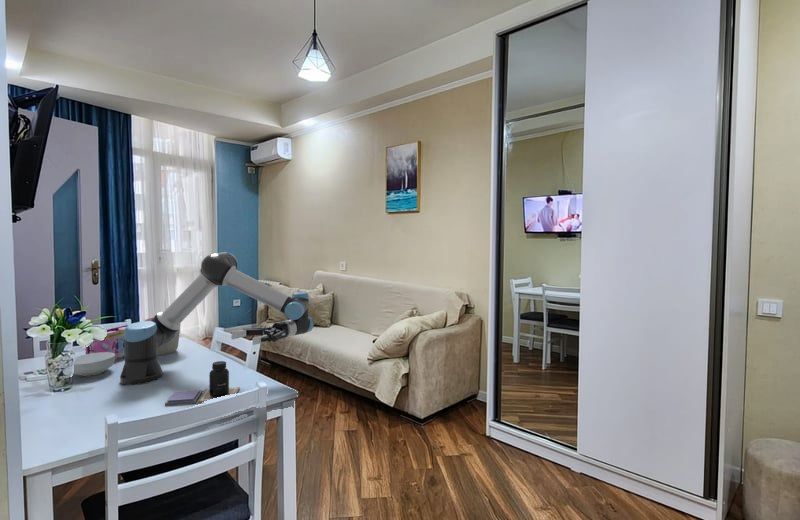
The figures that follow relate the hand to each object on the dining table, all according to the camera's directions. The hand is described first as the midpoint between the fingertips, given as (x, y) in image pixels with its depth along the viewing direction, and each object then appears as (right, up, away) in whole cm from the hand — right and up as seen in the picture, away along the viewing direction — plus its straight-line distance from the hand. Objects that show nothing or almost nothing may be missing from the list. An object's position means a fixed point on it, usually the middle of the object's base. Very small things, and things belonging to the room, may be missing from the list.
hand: (242, 338), depth 166 cm
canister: (-59, -16, +48) cm, 78 cm away
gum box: (-79, -17, +39) cm, 90 cm away
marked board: (-5, -20, -9) cm, 23 cm away
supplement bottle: (-5, -19, -9) cm, 22 cm away
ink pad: (-17, -20, -13) cm, 29 cm away
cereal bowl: (-72, -18, +15) cm, 76 cm away
